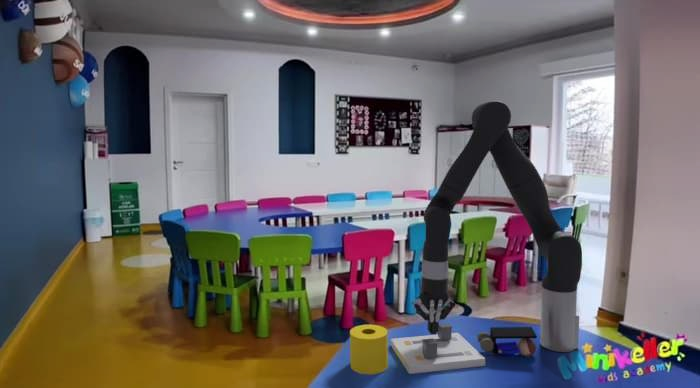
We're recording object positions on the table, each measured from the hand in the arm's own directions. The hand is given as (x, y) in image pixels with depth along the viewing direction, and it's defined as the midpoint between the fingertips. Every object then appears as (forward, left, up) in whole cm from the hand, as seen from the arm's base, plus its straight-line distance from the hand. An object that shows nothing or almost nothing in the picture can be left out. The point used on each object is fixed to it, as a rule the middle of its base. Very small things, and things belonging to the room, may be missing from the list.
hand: (432, 333), depth 138 cm
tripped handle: (-4, 0, -2) cm, 4 cm away
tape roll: (+20, +7, -5) cm, 22 cm away
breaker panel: (+1, +5, -4) cm, 7 cm away
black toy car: (-19, +9, -5) cm, 21 cm away
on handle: (+4, +10, -2) cm, 11 cm away
